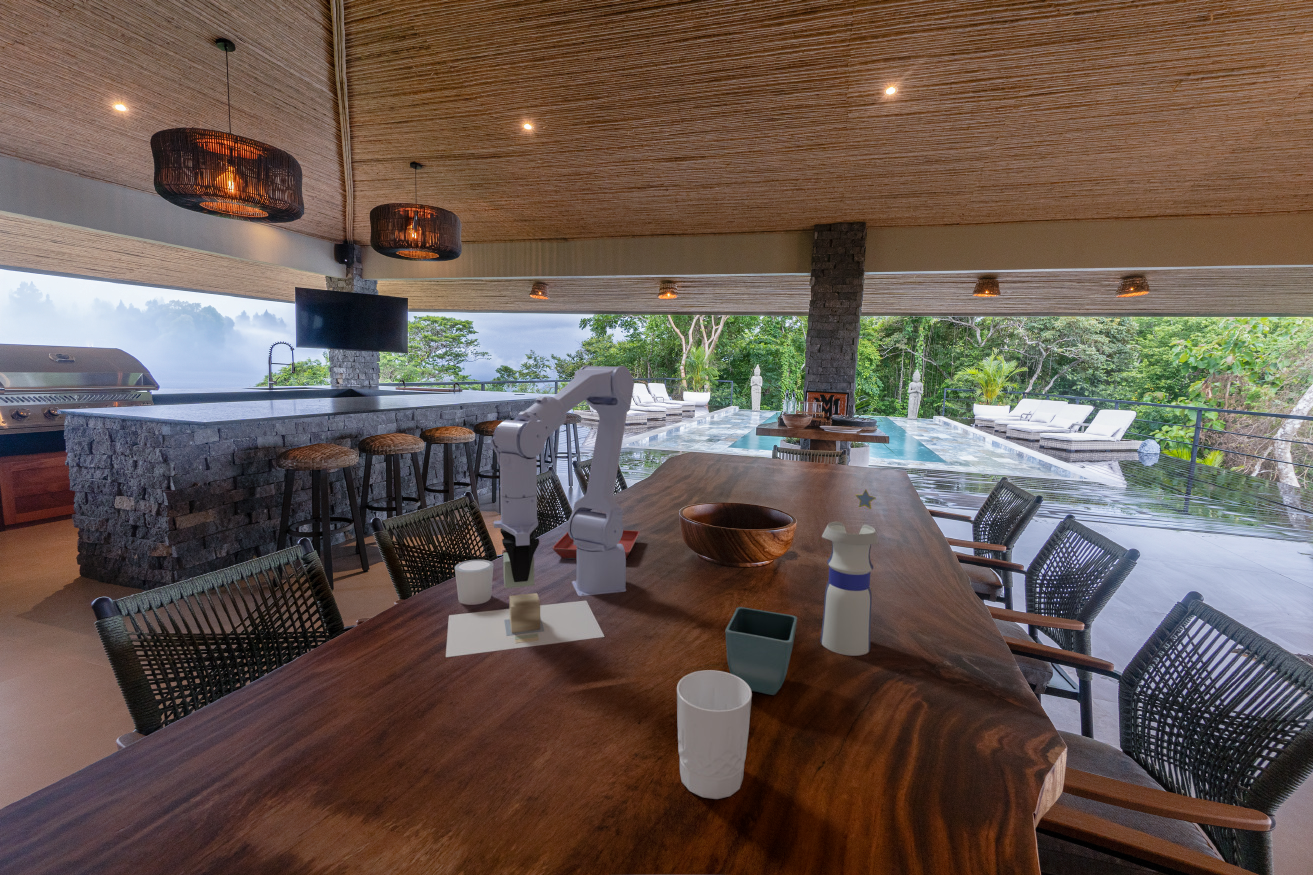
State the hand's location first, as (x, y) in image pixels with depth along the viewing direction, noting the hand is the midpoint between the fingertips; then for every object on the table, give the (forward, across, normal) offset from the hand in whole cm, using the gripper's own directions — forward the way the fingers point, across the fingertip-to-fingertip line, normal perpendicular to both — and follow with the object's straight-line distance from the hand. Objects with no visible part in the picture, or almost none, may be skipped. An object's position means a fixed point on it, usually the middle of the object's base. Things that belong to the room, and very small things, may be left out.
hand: (519, 575), depth 94 cm
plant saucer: (+10, -38, +21) cm, 45 cm away
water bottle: (+10, +19, +50) cm, 54 cm away
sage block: (+1, 0, 0) cm, 1 cm away
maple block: (+9, 0, +1) cm, 9 cm away
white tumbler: (+10, -14, -7) cm, 18 cm away
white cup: (+10, +41, +17) cm, 45 cm away
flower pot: (+10, +26, +31) cm, 41 cm away
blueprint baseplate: (+9, 0, +1) cm, 9 cm away
